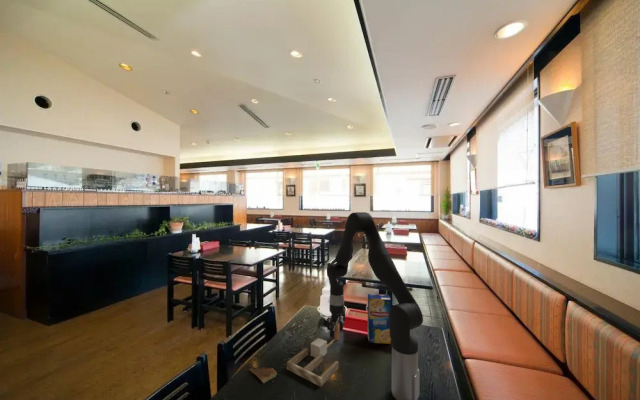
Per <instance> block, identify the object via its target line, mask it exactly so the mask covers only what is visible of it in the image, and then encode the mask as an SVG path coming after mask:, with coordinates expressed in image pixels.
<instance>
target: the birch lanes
mask: <svg viewBox="0 0 640 400" xmlns="http://www.w3.org/2000/svg"><path fill="white" fill-rule="evenodd" d="M307 356H309V347H305V348H303V349H302V350H301V351H300V352H298V353H297V354H296V355H294V356H293V357H292V358H290V359H288V361H286V370H287V371H290V372H291V373H293V374H295V375H297V376H299V377H301V378H303V379H305V380H307V381H308V382H311V383H313V384H314V385H317V386H318V387H320V388H322V387H323V385H324V384H325V383H327V382H328V380H329V379H330V378H331V377H332V376H333V375H334V374H335V373H336V372H337V371H338V370H339V365H340V364H339V361H338V360H335V361H334V362H333V363H332V364H331V365H330V366H329V367H328V368H327V369H326V370H325V371H323V373H322V374H321V375H318V374H316V373H314V372H313V371H315V369H316V368H317V367H319V366H320V365H321V364H322V363H323V361H324V358H323V357H324V356H323V355H322V354H320V355H318V356H317V357H316V358H315V357H314V359H312V360H311V361H310V362H309V363H308V364H307V365H306V366H304V367H302V366H300V365H298V364H299V363H300V362H301V361H303V360H304V358H306V357H307Z"/></svg>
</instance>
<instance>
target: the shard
mask: <svg viewBox="0 0 640 400" xmlns="http://www.w3.org/2000/svg"><path fill="white" fill-rule="evenodd" d="M248 368H249V372H250V373H252V374H254V376H256V377H257V378H258V379H259V380H260V382H262V384H265V383H267V382H268V381H270V380H272V379H274V378H276V376H277V371H276V370H275V369H274V367H248Z"/></svg>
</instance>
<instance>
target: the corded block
mask: <svg viewBox="0 0 640 400" xmlns="http://www.w3.org/2000/svg"><path fill="white" fill-rule="evenodd" d="M333 324H335V323H333ZM339 326H340V323H339V322H338V323H337V326H335V329H334V338H332V340H330V341H329V342H328V341H327V340H326V339H322V338H320V337H317V338H316V339H315V340H313V341H312V342H311V343H310V356H311V357H313V358H314V359H315V358H316V357H317V356H318V355H320V354H322V355H323V357H324V356H325V355H326V354H327V353H328V348H329V347H330V346H331V345H333V344H334V343H335V342H336V341H335V340H338V341H340V331H339ZM334 341H335V342H334ZM333 342H334V343H333Z"/></svg>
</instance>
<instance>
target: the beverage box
mask: <svg viewBox="0 0 640 400" xmlns="http://www.w3.org/2000/svg"><path fill="white" fill-rule="evenodd" d="M391 307H392V299H391V297H390V295H389V294H380V293H379V294H378V293H377V294H376V293H375V294H374V293H367V338H368V343H369V342H370V343H369V344H371V343H373V344H389V345H392V341H391V338H390V329H389V312H390V309H391Z"/></svg>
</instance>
